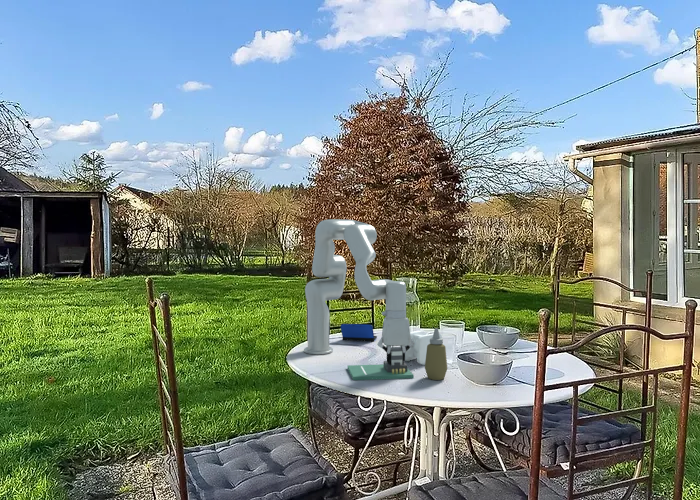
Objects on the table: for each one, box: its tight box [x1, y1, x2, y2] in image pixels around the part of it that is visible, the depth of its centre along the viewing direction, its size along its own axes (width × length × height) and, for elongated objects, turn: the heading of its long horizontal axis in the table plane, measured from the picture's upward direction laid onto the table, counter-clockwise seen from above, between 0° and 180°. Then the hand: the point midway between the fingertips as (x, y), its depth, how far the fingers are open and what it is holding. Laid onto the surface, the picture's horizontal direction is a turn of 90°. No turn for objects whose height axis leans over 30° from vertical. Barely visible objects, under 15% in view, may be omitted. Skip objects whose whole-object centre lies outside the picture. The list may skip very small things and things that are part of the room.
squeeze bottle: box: [424, 328, 448, 381], centre depth 194 cm, size 8×8×18 cm
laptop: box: [340, 323, 378, 343], centre depth 260 cm, size 16×13×9 cm
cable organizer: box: [399, 330, 443, 366], centre depth 219 cm, size 15×11×12 cm
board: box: [347, 360, 415, 381], centre depth 200 cm, size 16×22×5 cm
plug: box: [390, 346, 403, 365], centre depth 201 cm, size 4×4×6 cm
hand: (395, 362), depth 201 cm, fingers closed on plug, 4 cm apart
